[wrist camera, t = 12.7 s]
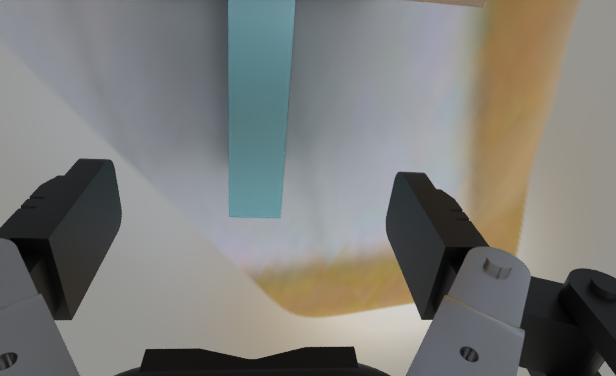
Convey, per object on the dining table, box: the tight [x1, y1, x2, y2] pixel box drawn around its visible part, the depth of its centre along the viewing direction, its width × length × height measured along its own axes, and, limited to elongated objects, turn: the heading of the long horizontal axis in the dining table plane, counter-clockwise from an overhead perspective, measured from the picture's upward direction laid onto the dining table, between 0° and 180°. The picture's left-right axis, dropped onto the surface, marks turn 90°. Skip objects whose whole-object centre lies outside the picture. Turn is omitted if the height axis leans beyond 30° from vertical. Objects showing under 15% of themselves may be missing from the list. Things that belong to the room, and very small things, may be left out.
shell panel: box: [228, 0, 296, 218], centre depth 19 cm, size 14×2×6 cm, turn 175°
